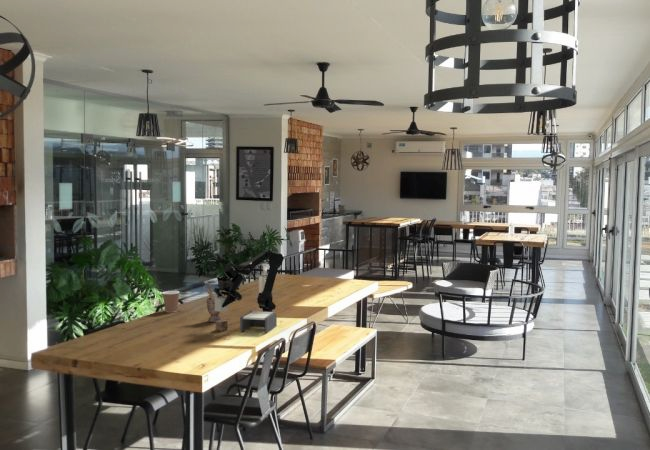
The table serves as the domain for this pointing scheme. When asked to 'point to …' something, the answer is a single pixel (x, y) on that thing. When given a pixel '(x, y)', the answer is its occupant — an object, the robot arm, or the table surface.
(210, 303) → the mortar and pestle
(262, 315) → the trapdoor
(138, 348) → the table surface
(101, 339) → the table surface
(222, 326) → the stand
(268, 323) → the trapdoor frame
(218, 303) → the grey rectangular block
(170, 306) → the coffee cup
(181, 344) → the table surface
